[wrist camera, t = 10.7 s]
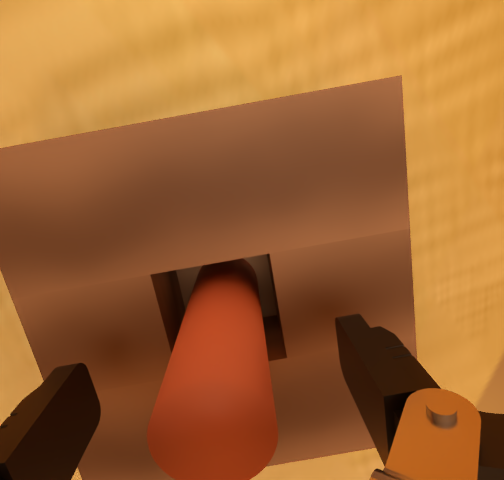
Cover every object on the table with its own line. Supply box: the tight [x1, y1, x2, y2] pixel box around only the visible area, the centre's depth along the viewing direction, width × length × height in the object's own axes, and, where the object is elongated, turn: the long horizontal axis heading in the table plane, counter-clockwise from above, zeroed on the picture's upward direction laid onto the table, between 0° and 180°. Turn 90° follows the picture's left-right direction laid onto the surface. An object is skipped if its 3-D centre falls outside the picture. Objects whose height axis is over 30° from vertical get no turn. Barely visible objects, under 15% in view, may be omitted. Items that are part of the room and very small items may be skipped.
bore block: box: [0, 75, 417, 480], centre depth 17 cm, size 16×16×5 cm
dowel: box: [147, 258, 278, 480], centre depth 13 cm, size 3×3×10 cm
